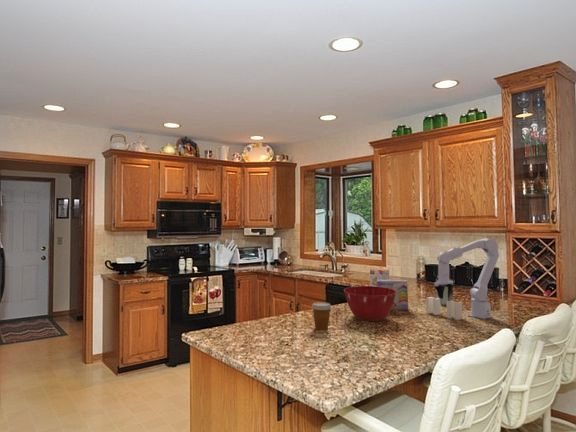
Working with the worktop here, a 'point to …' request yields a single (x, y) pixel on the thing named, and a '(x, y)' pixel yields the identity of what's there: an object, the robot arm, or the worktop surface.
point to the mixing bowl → (370, 301)
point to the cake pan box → (401, 290)
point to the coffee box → (450, 292)
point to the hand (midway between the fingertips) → (444, 297)
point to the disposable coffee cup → (321, 315)
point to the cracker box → (378, 275)
